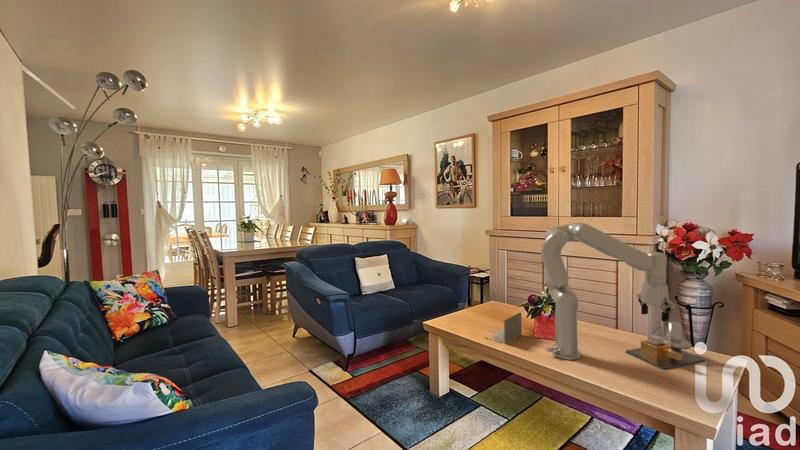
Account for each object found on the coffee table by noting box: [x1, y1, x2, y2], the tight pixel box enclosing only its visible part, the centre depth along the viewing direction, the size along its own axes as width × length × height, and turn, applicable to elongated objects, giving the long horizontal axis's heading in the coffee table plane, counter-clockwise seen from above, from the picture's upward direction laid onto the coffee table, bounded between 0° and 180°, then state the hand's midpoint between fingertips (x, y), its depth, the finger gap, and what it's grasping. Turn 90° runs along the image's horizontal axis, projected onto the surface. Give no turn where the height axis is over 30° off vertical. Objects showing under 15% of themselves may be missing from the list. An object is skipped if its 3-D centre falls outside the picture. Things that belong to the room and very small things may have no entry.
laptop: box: [488, 312, 523, 345], centre depth 191 cm, size 18×12×13 cm
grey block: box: [647, 334, 663, 346], centre depth 158 cm, size 4×4×9 cm
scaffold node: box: [625, 320, 706, 370], centre depth 158 cm, size 24×20×15 cm
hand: (654, 317), depth 157 cm, fingers open, 9 cm apart
